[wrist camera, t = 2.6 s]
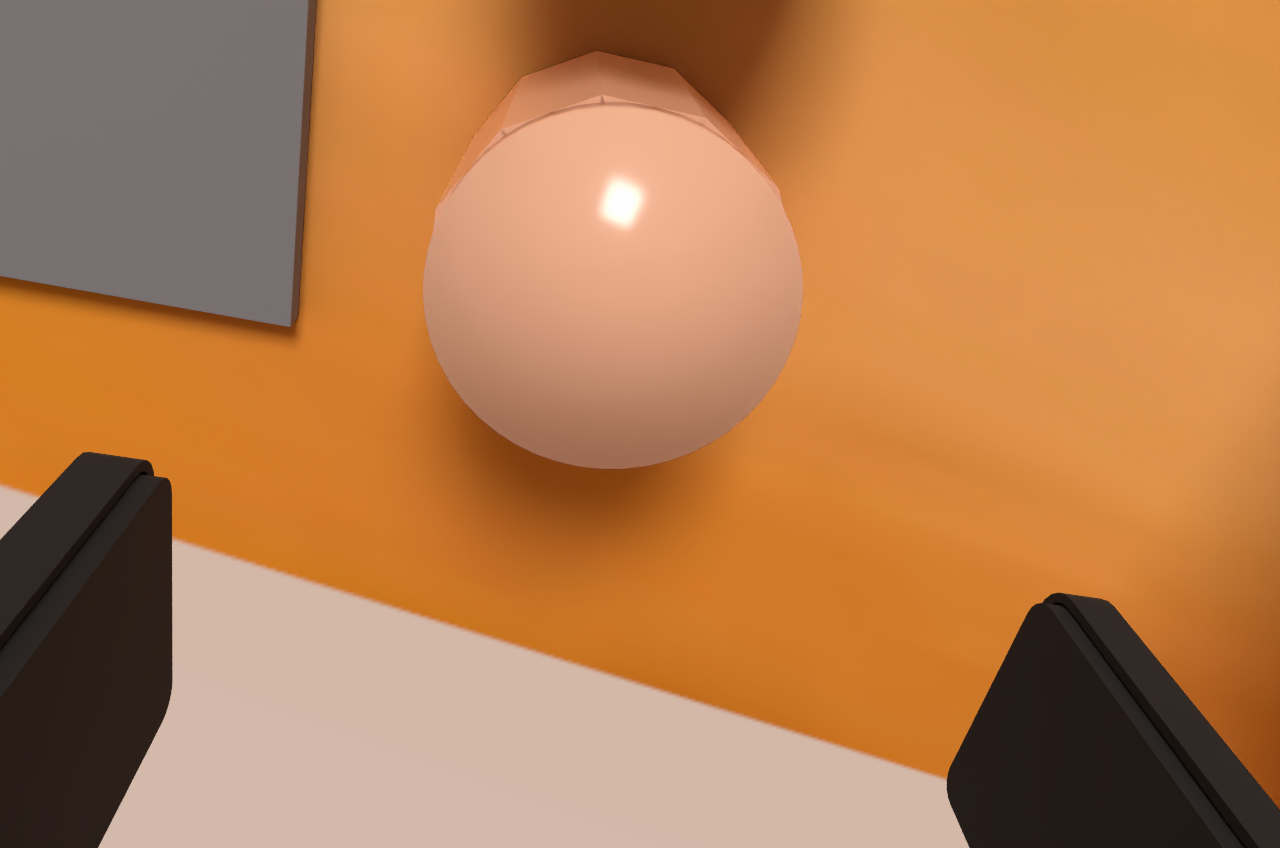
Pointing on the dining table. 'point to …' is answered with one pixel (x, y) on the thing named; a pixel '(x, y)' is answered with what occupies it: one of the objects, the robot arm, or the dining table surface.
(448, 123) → the dining table surface
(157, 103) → the mat
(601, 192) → the peach rounded capsule
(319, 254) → the dining table surface
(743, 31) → the dining table surface
